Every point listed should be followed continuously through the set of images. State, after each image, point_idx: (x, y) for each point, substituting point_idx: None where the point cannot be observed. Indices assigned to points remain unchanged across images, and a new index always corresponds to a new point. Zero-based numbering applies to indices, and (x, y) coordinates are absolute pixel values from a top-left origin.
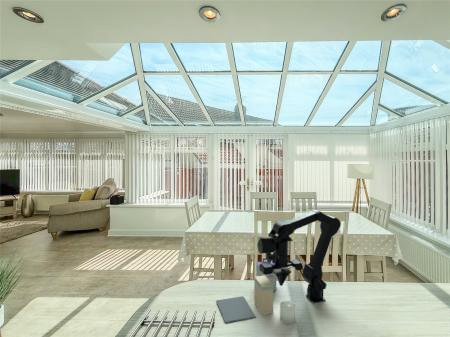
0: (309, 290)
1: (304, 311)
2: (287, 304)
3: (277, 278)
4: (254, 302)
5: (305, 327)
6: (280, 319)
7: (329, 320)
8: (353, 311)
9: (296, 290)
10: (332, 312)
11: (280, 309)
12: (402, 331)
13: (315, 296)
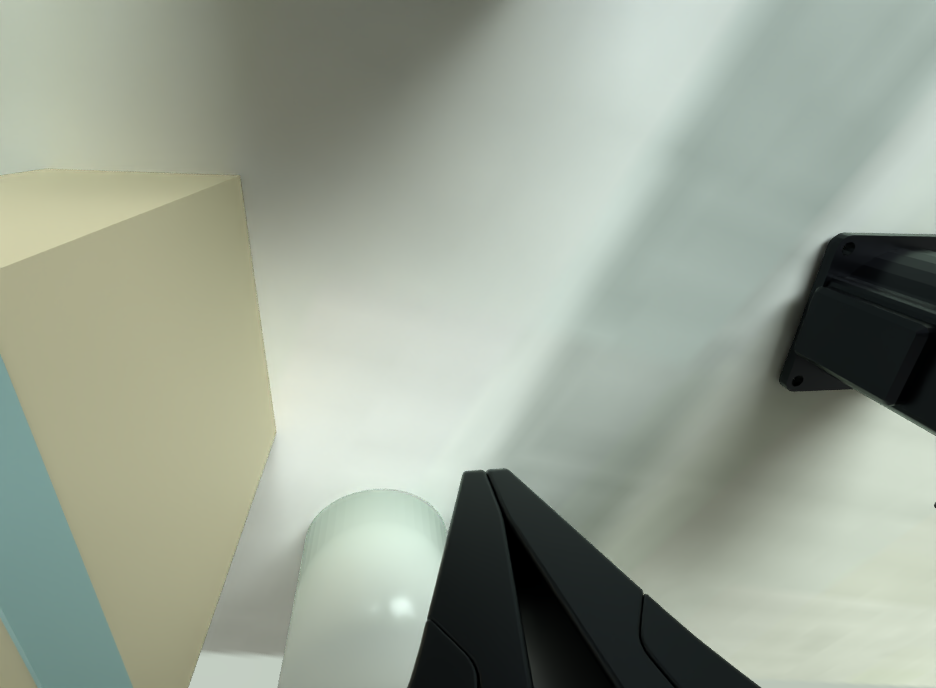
0: (891, 388)
1: (595, 475)
2: (379, 680)
3: (433, 593)
4: (44, 169)
5: None
6: (304, 545)
7: (683, 588)
8: (917, 532)
9: (847, 57)
10: (786, 521)
11: (286, 643)
12: (921, 681)
13: (863, 393)
